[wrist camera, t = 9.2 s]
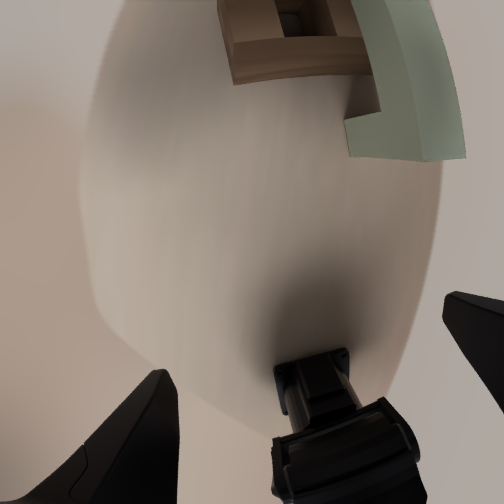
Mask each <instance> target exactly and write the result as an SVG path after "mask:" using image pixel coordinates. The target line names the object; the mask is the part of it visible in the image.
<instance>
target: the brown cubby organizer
mask: <svg viewBox="0 0 504 504" xmlns="http://www.w3.org/2000/svg"><path fill="white" fill-rule="evenodd" d="M217 11H218V15H219V20H220V24H221V29H222V33H223V38H224V42H225V47H226V51H227V56H228V61H229V65H230V70H231V75H232V79H233V84H234V85H239V84H245V83H251V82H258V81H265V80H273V79H282V78H292V77H304V76H319V75H346V74H369V75H373V72H372V68H371V64H370V60H369V56H368V53H367V49H366V46H365V42H364V39H363V36H362V32H361V29H360V26H359V23H358V20H357V17H356V14H355V11H354V9H353V6H352V3H351V0H217ZM280 14H297V16H298V20H299V23H300V27H301V30H302V34H303V37H284V34H283V30H282V27H281V23H280V19H279V16H278V15H280Z"/></svg>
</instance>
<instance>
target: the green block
mask: <svg viewBox="0 0 504 504" xmlns="http://www.w3.org/2000/svg"><path fill="white" fill-rule="evenodd" d="M351 3H352V6H353V9H354V11H355V14H356V17H357V20H358V23H359V26H360V29H361V32H362V36H363V39H364V42H365V46H366V49H367V53H368V56H369V60H370V64H371V68H372V72H373V76H374V80H375V84H376V88H377V93H378V98H379V103H380V107H381V112H377V113H372V114H367V115H363V116H359V117H354V118H350V119H346V120H344V124H345V129H346V135H347V141H348V147H349V153H350V156H354V157H372V158H387V159H399V160H410V161H420V162H427V161H438V160H449V159H461V158H466V151H465V142H464V134H463V127H462V119H461V113H460V107H459V102H458V97H457V92H456V87H455V83H454V79H453V75H452V70H451V67H450V63H449V59H448V56H447V52H446V49H445V46H444V42H443V39H442V36H441V33H440V30H439V27H438V25H437V22H436V19H435V17H434V14H433V11H432V9H431V6H430V4H429V2H428V0H351Z"/></svg>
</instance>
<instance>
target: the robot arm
mask: <svg viewBox="0 0 504 504" xmlns="http://www.w3.org/2000/svg"><path fill="white" fill-rule="evenodd" d="M442 318H443V322H444V323H445V325H446V327H447V328H448V330H449V331H450V333H451V335H452V336H453V338H454V339H455V341H456V343H457V344H458V346H459V348H460V349H461V351H462V352H463V354H464V356H465V357H466V359H467V360H468V361H469V363H470V364H471V365H472V367H473V368H474V370H475V371H476V372H477V374H478V375H479V377H480V378H481V380H482V381H483V382H484V384H485V385H486V387H487V388H488V390H489V391H490V393H491V394H492V396H493V397H494V399H495V401H496V402H497V404H498V405H499V407H500V408H501V410H502V411H503V413H504V301H502V300H497V299H492V298H488V297H483V296H477V295H473V294H468V293H463V292H459V291H454V292H451V293H449V294H447V295H446V296H445V300H444V307H443V314H442ZM343 353H344V354H343ZM342 354H343V355H342ZM279 370H282V371H280V372H278V371H279ZM273 372H274V377H275V382H276V386H277V391H278V395H279V400H280V405H281V409H282V413H283V415H289V418H290V422H291V426H292V430H293V434H290V435H287V436H283V437H276V438H273V439H272V440H273V447H272V448H271V449H272V451H271V456H272V464H273V479H272V487H271V490H272V494H273V495H274V496H276V497H278V498H280V499H281V501H282V502H283V503H284V504H426V502H427V493H426V490H425V488H424V486H423V483H422V481H421V478H420V474H419V471H418V468H417V464H416V463H417V462H419V460H420V449H419V445H418V442H417V440H416V437H415V435H414V433H413V431H412V429H411V428H410V426H409V425H408V424H407V422H406V421H405V420H404V419H403V417H402V416H401V415H400V414H399V413H398V412H397V411H396V410H395V409H394V407H393V406H392V405H391V404H390V403H389V402H388V401H387V399H386V398H385V397H384V396H383V397H381V398H379V399H377V401H375V402H373V403H371V404H369V405H367V406H364V407H363V406H362V404H361V403H360V401H359V399H358V397H357V395H356V393H355V391H354V389H353V387H352V386H351V384H350V382H349V351H348V350H347V349H346V348H341V349H338V350H334V351H331V352H328V353H324V354H320V355H317V356H313V357H309V358H306V359H302V360H298V361H294V362H290V363H286V364H281V365H278V366H276V367H274V369H273ZM179 445H180V431H179V413H178V393H177V389H176V387H175V385H174V383H173V381H172V379H171V377H170V375H169V373H168V371H167V370H166V369H158V370H153V371H151V372H150V373H149V375H148V376H147V377H146V378H145V379H144V380H143V381H142V382H141V383H140V384H139V385H138V386H137V387H136V388H135V390H133V392H132V393H131V394H130V395H129V396H128V397H127V398H126V399H125V400H124V401H123V402H122V403H121V404H120V405H119V406H118V408H117V409H116V410H115V411H114V412H113V413H112V414H111V415H110V416H109V417H108V418H107V419H106V420H105V421H104V422H103V423H102V424H101V425H100V427H99V428H98V429H97V430H96V431H95V432H94V433H93V434H92V435H91V436H90V437H89V438H88V439H87V440H86V441H85V442H84V445H81V446H80V447H79V448H78V449H77V450H76V451H75V453H74V454H73V455H71V457H69V459H67V460H66V461H65V462H64V463H63V464H62V465H61V466H60V467H59V468H58V469H57V470H55V471H54V472H53V473H52V474H51V475H50V476H49V477H47V478H46V479H45V480H44V481H43V482H41V483H40V484H39V485H37V486H36V487H35V488H34V489H33V490H31V491H30V492H29V493H28V494H26V495H25V496H23V497H21V498H19V499H17V500H13V501H6V502H0V504H177V484H178V462H179Z"/></svg>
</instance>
